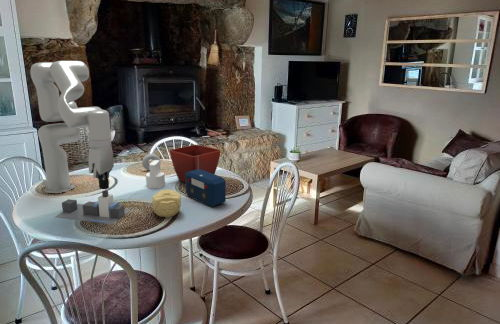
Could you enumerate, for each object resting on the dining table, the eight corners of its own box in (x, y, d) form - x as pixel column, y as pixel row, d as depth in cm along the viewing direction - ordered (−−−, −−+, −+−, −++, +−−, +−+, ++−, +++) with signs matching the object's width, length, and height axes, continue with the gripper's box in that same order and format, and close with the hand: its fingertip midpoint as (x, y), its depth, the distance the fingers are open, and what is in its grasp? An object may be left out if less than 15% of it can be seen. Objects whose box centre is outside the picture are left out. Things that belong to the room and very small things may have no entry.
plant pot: (196, 173, 206) (196, 143, 201) (221, 180, 194) (221, 149, 190) (169, 181, 192) (168, 149, 187) (194, 189, 180) (194, 156, 175)
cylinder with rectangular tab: (162, 188, 180) (161, 165, 177) (144, 188, 181) (142, 164, 177) (166, 182, 189) (165, 160, 186) (149, 182, 189) (148, 159, 186)
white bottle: (99, 216, 144) (97, 192, 142) (105, 212, 148) (103, 189, 146) (108, 217, 144) (106, 193, 141) (114, 213, 148) (112, 190, 145)
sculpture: (153, 221, 145) (151, 196, 142) (152, 209, 156) (151, 185, 153) (182, 218, 148) (181, 193, 145) (179, 207, 159) (178, 183, 156)
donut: (143, 172, 205) (142, 155, 202) (142, 170, 208) (141, 153, 205) (161, 170, 208) (160, 153, 206) (160, 169, 211) (159, 152, 209)
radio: (183, 195, 172) (182, 154, 166) (198, 191, 178) (197, 151, 172) (211, 209, 158) (211, 164, 152) (227, 203, 164) (227, 161, 158)
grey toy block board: (54, 220, 143) (52, 205, 142) (77, 206, 156) (76, 192, 155) (112, 227, 139) (111, 211, 137) (131, 213, 152) (130, 198, 150)
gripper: (103, 137, 146) (106, 181, 151) (78, 146, 132) (83, 194, 137) (120, 139, 144) (123, 183, 150) (97, 148, 130) (101, 196, 135)
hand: (104, 188), depth 143 cm, fingers closed
